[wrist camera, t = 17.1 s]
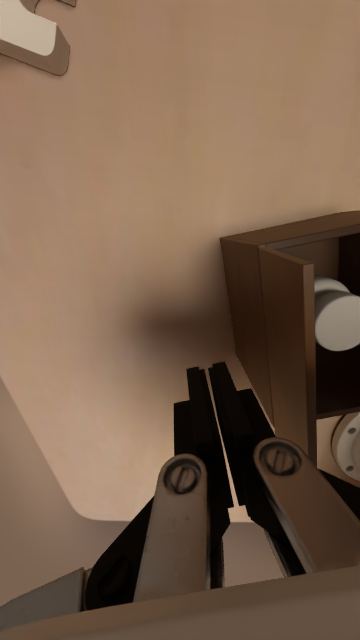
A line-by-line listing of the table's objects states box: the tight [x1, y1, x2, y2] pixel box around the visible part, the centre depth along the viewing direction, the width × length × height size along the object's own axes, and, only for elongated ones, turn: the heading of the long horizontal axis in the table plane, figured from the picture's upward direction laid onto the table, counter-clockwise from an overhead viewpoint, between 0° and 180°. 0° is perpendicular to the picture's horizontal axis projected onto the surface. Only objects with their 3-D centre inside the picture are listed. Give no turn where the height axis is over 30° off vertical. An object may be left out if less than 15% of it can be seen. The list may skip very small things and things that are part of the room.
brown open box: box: [220, 211, 360, 427], centre depth 17 cm, size 11×10×9 cm
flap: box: [259, 247, 317, 467], centre depth 10 cm, size 11×5×1 cm
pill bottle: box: [314, 273, 360, 351], centre depth 18 cm, size 4×4×8 cm
